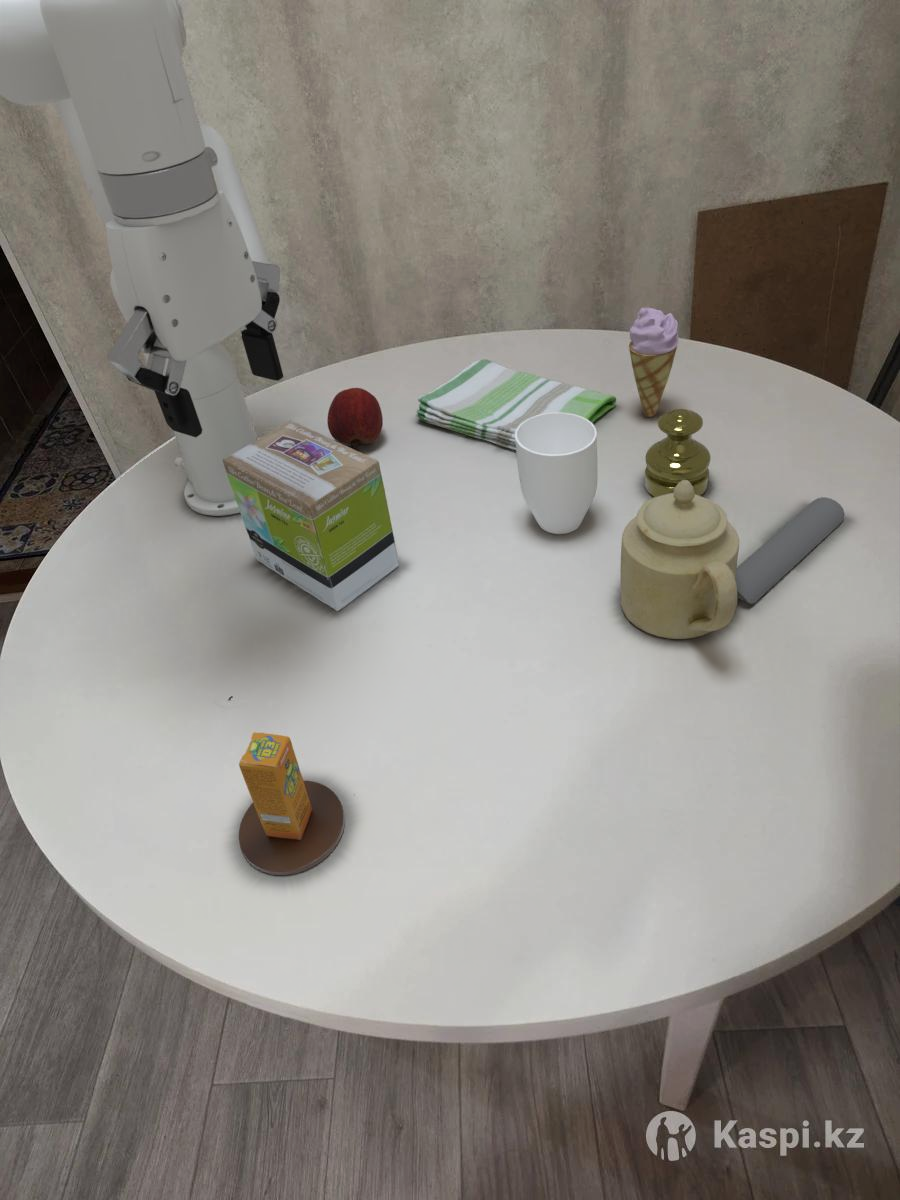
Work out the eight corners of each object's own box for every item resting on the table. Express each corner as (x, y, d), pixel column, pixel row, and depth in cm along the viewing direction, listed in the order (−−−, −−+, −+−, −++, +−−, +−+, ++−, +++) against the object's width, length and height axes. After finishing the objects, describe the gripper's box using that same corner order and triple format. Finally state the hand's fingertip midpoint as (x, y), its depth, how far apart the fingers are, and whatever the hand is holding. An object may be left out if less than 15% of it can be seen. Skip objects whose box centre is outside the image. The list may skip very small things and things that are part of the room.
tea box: (254, 564, 102) (217, 457, 92) (318, 521, 107) (290, 415, 97) (337, 615, 93) (307, 503, 83) (403, 566, 98) (382, 455, 88)
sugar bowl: (786, 620, 85) (813, 494, 75) (714, 678, 80) (733, 552, 71) (667, 555, 94) (677, 435, 84) (596, 603, 90) (598, 483, 80)
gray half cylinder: (846, 518, 96) (849, 505, 94) (747, 609, 86) (750, 596, 85) (810, 504, 98) (813, 491, 97) (711, 591, 89) (712, 578, 88)
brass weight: (638, 500, 103) (640, 426, 96) (651, 465, 108) (654, 393, 101) (702, 507, 100) (709, 432, 93) (712, 472, 105) (719, 398, 98)
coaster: (218, 845, 73) (216, 841, 73) (288, 769, 78) (286, 765, 78) (297, 894, 69) (296, 890, 68) (366, 810, 74) (364, 806, 74)
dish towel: (484, 370, 131) (482, 348, 129) (618, 403, 119) (619, 380, 117) (413, 423, 122) (409, 400, 120) (551, 465, 110) (550, 441, 108)
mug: (583, 550, 97) (581, 459, 89) (509, 537, 100) (502, 448, 92) (614, 492, 104) (615, 403, 96) (544, 481, 108) (540, 394, 100)
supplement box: (304, 842, 72) (274, 768, 65) (266, 837, 72) (232, 764, 66) (317, 808, 74) (289, 734, 67) (279, 804, 75) (248, 730, 68)
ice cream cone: (621, 404, 119) (623, 298, 109) (666, 398, 119) (672, 291, 109) (633, 429, 114) (636, 320, 104) (679, 422, 114) (687, 313, 104)
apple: (398, 434, 120) (388, 382, 115) (364, 463, 115) (353, 410, 110) (356, 424, 123) (345, 373, 118) (322, 451, 119) (309, 399, 114)
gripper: (210, 146, 67) (266, 350, 79) (26, 225, 57) (120, 446, 69) (281, 152, 64) (329, 365, 75) (98, 236, 54) (185, 467, 65)
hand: (229, 403), depth 72 cm, fingers open, 9 cm apart
